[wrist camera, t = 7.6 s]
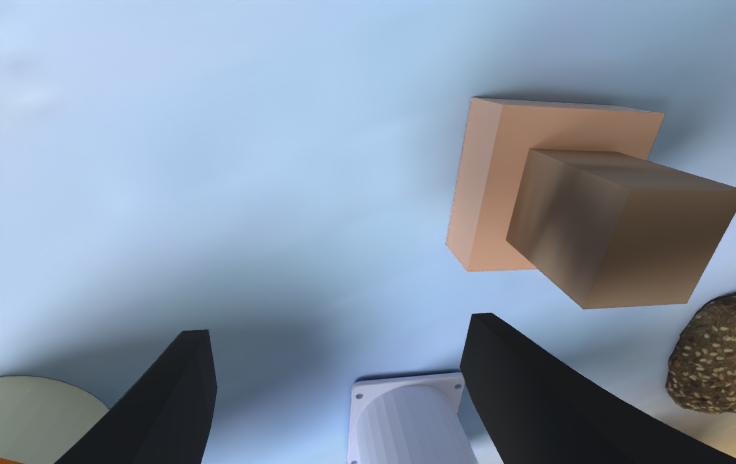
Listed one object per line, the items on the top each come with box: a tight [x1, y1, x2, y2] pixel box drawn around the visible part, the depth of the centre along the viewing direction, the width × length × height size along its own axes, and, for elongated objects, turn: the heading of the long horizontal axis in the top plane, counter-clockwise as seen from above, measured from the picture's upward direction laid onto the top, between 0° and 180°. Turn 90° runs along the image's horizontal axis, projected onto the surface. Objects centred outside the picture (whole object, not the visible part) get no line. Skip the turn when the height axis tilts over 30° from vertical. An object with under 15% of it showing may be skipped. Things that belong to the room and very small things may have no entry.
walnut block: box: [506, 149, 736, 309], centre depth 15 cm, size 4×4×6 cm
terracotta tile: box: [446, 97, 665, 272], centre depth 19 cm, size 8×8×3 cm
